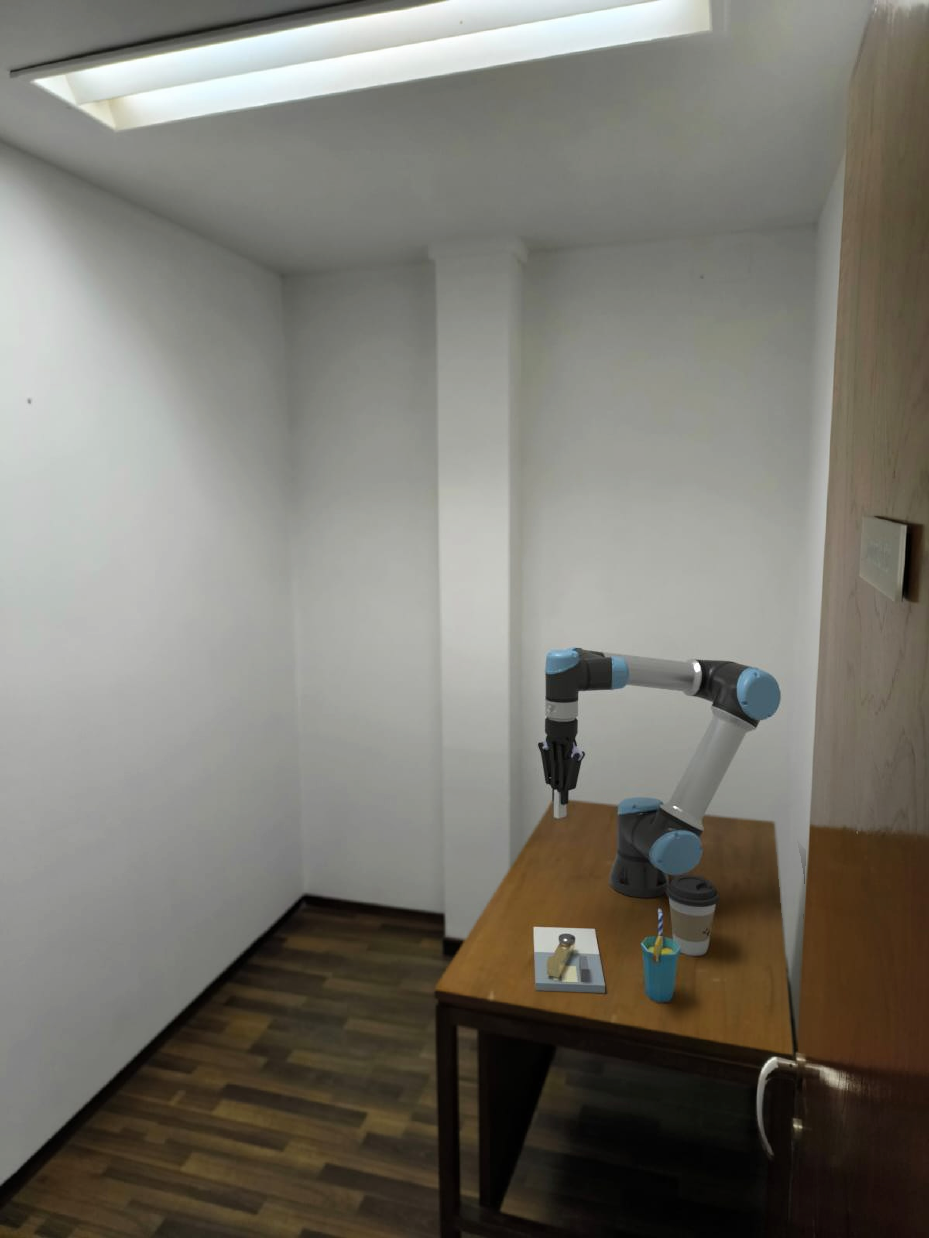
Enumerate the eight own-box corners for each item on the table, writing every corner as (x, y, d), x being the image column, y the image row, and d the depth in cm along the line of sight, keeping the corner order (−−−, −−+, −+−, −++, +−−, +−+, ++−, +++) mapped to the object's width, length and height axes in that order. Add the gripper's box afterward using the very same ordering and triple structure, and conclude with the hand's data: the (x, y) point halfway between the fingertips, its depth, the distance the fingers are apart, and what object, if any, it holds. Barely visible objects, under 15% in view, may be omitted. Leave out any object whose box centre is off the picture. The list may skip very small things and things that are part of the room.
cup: (639, 971, 172) (641, 904, 170) (677, 975, 170) (679, 907, 169) (639, 1009, 158) (641, 937, 157) (680, 1014, 157) (683, 941, 155)
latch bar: (561, 943, 179) (561, 930, 178) (577, 946, 177) (577, 933, 177) (544, 974, 167) (544, 960, 166) (561, 977, 165) (561, 963, 165)
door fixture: (594, 935, 187) (594, 917, 186) (604, 992, 164) (605, 972, 164) (533, 933, 188) (533, 915, 187) (535, 990, 165) (535, 969, 164)
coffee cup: (710, 966, 174) (713, 899, 172) (658, 952, 179) (660, 888, 178) (722, 942, 184) (724, 879, 182) (672, 930, 189) (674, 868, 187)
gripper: (529, 714, 189) (528, 812, 192) (571, 725, 179) (569, 828, 182) (552, 710, 194) (550, 805, 197) (593, 720, 184) (592, 820, 187)
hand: (560, 816), depth 189 cm, fingers closed
